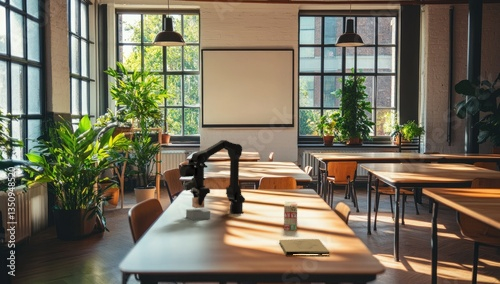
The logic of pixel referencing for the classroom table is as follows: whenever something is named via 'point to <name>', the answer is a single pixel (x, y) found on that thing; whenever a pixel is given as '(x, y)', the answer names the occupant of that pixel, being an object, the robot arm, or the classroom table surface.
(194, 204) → the terracotta cube
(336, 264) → the classroom table surface
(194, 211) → the base block
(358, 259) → the classroom table surface
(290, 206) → the printed carton
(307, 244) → the olive notebook
